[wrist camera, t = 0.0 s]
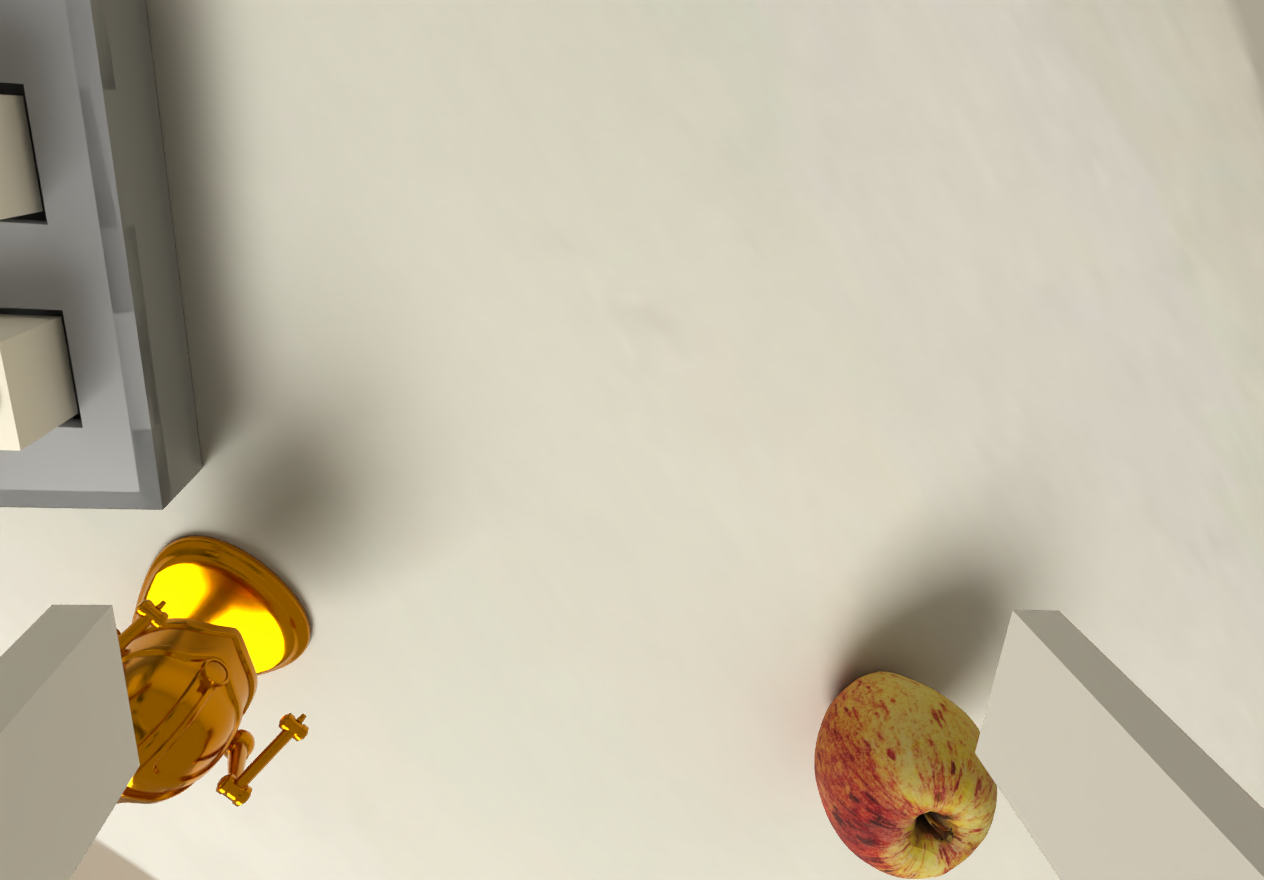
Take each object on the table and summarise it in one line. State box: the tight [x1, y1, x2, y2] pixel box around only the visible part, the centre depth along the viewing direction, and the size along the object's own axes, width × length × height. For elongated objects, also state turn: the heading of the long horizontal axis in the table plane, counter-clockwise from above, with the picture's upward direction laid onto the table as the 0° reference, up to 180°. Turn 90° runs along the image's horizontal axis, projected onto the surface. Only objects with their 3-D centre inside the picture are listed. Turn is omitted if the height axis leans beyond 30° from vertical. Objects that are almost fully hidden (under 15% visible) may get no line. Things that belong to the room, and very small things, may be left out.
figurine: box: [116, 535, 311, 807], centre depth 37 cm, size 9×11×12 cm
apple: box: [815, 671, 997, 879], centre depth 44 cm, size 9×9×10 cm
